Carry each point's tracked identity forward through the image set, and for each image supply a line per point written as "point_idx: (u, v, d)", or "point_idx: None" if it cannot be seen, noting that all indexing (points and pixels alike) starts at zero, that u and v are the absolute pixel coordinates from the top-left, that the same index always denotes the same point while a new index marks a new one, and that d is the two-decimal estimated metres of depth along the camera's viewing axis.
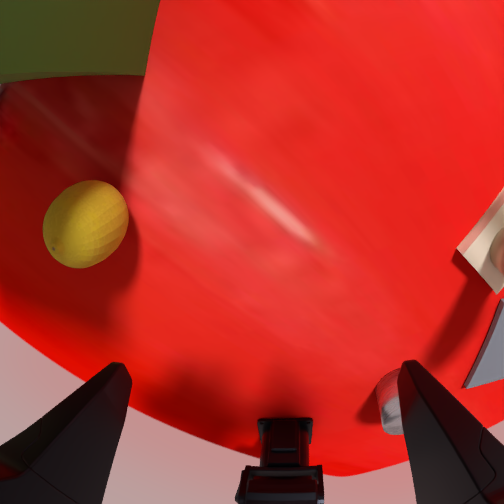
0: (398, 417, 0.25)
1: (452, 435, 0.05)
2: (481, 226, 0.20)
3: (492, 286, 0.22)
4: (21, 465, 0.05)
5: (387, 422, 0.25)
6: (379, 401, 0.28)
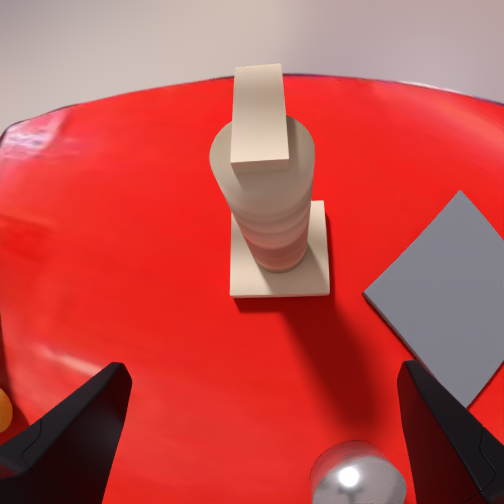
0: None
1: (452, 435, 0.05)
2: None
3: (310, 291, 0.22)
4: (21, 466, 0.05)
5: None
6: None
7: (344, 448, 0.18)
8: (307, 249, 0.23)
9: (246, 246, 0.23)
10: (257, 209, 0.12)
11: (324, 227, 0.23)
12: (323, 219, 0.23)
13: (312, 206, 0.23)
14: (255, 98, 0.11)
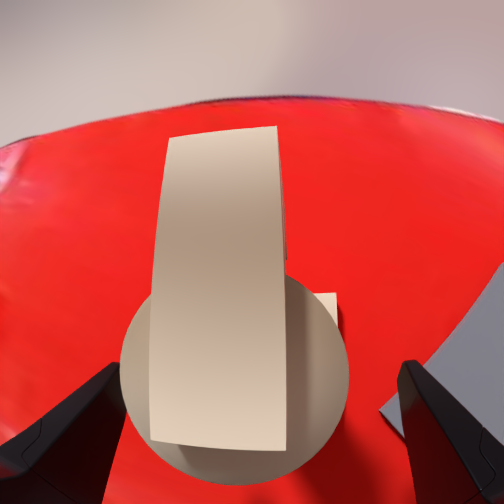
0: None
1: (452, 435, 0.05)
2: None
3: None
4: (21, 466, 0.05)
5: None
6: None
7: None
8: None
9: None
10: None
11: None
12: (335, 320, 0.16)
13: (320, 301, 0.17)
14: (207, 244, 0.05)
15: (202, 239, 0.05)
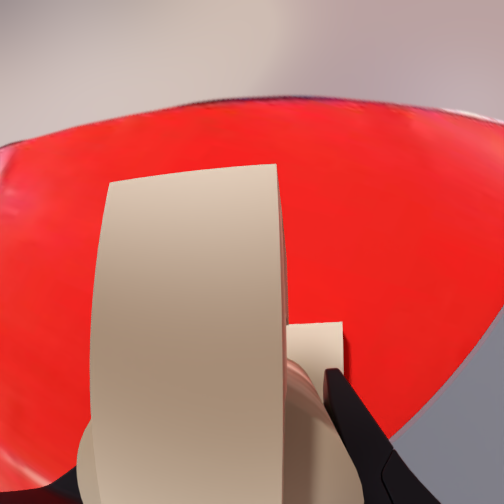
0: None
1: (353, 454, 0.05)
2: None
3: None
4: None
5: None
6: None
7: None
8: None
9: None
10: None
11: (341, 365, 0.14)
12: (340, 353, 0.14)
13: (325, 332, 0.15)
14: (163, 377, 0.03)
15: (154, 367, 0.03)
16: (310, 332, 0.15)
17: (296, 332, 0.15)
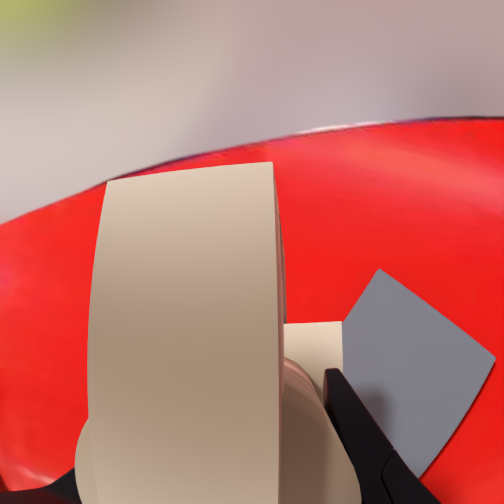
0: None
1: (353, 454, 0.05)
2: None
3: None
4: None
5: None
6: None
7: None
8: None
9: None
10: None
11: (340, 365, 0.14)
12: (340, 352, 0.14)
13: (324, 331, 0.15)
14: (159, 373, 0.03)
15: (151, 364, 0.03)
16: (309, 331, 0.15)
17: (295, 332, 0.15)
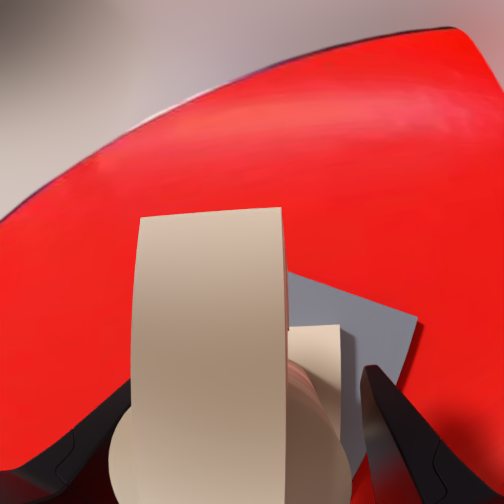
0: None
1: (404, 446, 0.05)
2: None
3: None
4: (57, 483, 0.04)
5: None
6: None
7: None
8: None
9: None
10: None
11: (338, 365, 0.15)
12: (338, 353, 0.15)
13: (323, 334, 0.16)
14: (193, 377, 0.04)
15: (186, 370, 0.04)
16: (309, 334, 0.16)
17: (296, 334, 0.16)
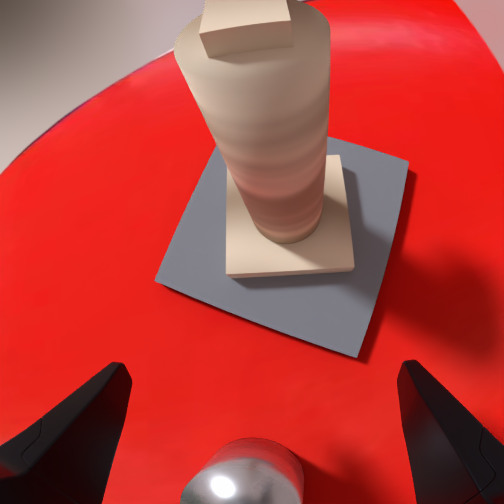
0: None
1: (452, 435, 0.05)
2: None
3: (329, 265, 0.17)
4: (21, 465, 0.05)
5: None
6: None
7: (215, 454, 0.15)
8: (323, 212, 0.17)
9: (245, 212, 0.18)
10: (246, 108, 0.07)
11: (343, 185, 0.18)
12: (341, 176, 0.18)
13: (326, 161, 0.18)
14: None
15: None
16: None
17: None
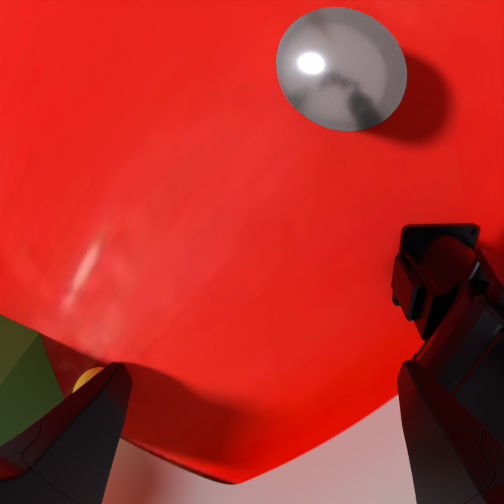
0: (327, 101, 0.12)
1: (452, 435, 0.05)
2: None
3: None
4: (21, 465, 0.05)
5: (343, 122, 0.13)
6: None
7: None
8: None
9: None
10: None
11: None
12: None
13: None
14: None
15: None
16: None
17: None
